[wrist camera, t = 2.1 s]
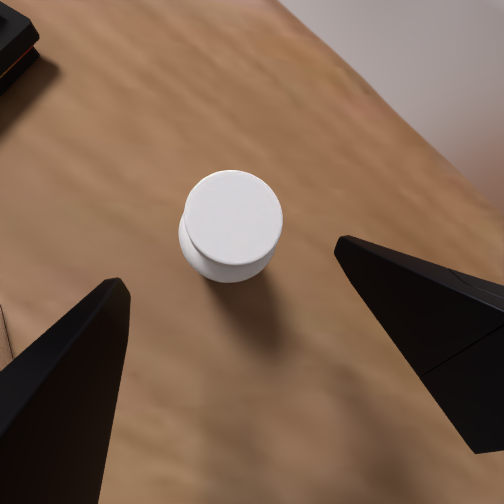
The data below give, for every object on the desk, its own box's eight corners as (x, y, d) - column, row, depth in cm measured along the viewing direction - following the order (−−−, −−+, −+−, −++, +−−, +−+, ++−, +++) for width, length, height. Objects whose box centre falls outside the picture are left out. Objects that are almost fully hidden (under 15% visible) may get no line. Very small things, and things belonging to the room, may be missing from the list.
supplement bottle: (222, 210, 17) (234, 128, 8) (264, 250, 18) (324, 217, 8) (178, 252, 16) (129, 213, 6) (224, 294, 16) (242, 316, 7)
